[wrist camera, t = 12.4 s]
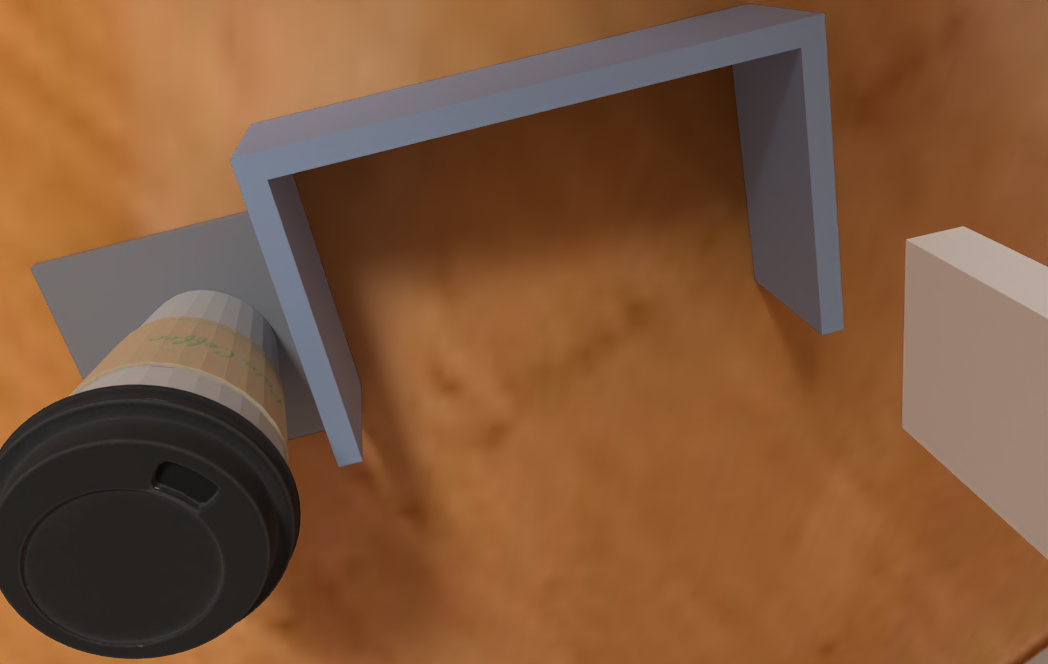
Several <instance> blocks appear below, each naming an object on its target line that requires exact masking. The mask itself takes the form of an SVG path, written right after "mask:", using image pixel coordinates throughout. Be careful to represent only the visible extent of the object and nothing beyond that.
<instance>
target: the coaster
mask: <svg viewBox="0 0 1048 664" xmlns="http://www.w3.org/2000/svg"><path fill="white" fill-rule="evenodd" d="M31 271H32V273H33V275H34V277H35V279H36V281H37V283H38V286H39V288H40V290H41V292H42V294H43V296H44V298H45V300H46V302H47V305H48V307H49V309H50V311H51V313H52V315H53V317H54V319H55V321H56V323H57V326H58V328H59V330H60V332H61V334H62V336H63V338H64V340H65V342H66V345H67V347H68V349H69V351H70V353H71V355H72V357H73V359H74V361H75V363H76V366H77V368H78V370H79V372H80V374H81V376H82V378H83V380H84V379H85V378H86V377H87V376H88V375H89V374H90V373H91V372H92V371H93V370H94V369H95V368H96V367H97V366H98V365H99V364H100V363H101V362H102V360H103V359H104V358H105V357H106V356H107V355H108V354H109V353H110V352H111V351H112V350H113V349H114V348H115V347H116V346H117V345H118V344H119V343H120V342H121V341H122V340H123V339H124V338H126V337H127V336H128V335H129V334H130V333H131V332H133V331H135V330H137V329H138V328H139V327H140V326H141V325H142V324H143V323H144V322H145V321H146V320H147V319H148V318H149V317H150V316H151V315H152V314H153V313H154V312H155V311H156V310H157V309H158V308H159V307H160V306H161V305H162V304H164V303H165V302H166V301H168V300H169V299H171V298H173V297H174V296H176V295H179V294H182V293H185V292H188V291H195V290H210V291H217V292H221V293H225V294H228V295H231V296H233V297H235V298H238V299H240V300H242V301H244V302H245V303H247V304H248V305H250V306H251V307H253V308H254V309H255V310H256V311H257V312H259V313H260V314H261V315H262V316H263V317H264V318H265V320H266V321H267V322H268V324H269V325H270V326H271V328H272V331H273V333H274V335H275V337H276V343H277V349H278V362H279V375H280V377H281V379H282V383H283V389H284V395H285V410H286V425H287V440H291V439H294V438H298V437H302V436H305V435H309V434H313V433H316V432H320V431H324V430H325V428H324V425H323V422H322V419H321V417H320V414H319V411H318V408H317V405H316V402H315V400H314V397H313V394H312V391H311V388H310V385H309V383H308V380H307V377H306V374H305V371H304V368H303V366H302V363H301V360H300V357H299V354H298V352H297V349H296V346H295V343H294V340H293V337H292V335H291V332H290V329H289V326H288V323H287V320H286V318H285V315H284V312H283V309H282V306H281V303H280V301H279V298H278V295H277V292H276V289H275V286H274V284H273V281H272V278H271V275H270V272H269V270H268V267H267V264H266V261H265V258H264V255H263V253H262V250H261V247H260V244H259V241H258V238H257V236H256V233H255V230H254V227H253V224H252V221H251V219H250V216H249V213H248V211H245V212H241V213H237V214H233V215H229V216H225V217H221V218H217V219H213V220H209V221H205V222H201V223H197V224H193V225H189V226H185V227H181V228H177V229H173V230H169V231H165V232H161V233H157V234H153V235H149V236H145V237H141V238H137V239H133V240H129V241H125V242H121V243H117V244H113V245H109V246H105V247H101V248H97V249H93V250H89V251H85V252H81V253H77V254H73V255H69V256H65V257H61V258H57V259H53V260H49V261H45V262H41V263H37V264H35V265H34V266H33V267H32V268H31Z"/></svg>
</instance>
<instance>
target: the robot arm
mask: <svg viewBox="0 0 1048 664" xmlns="http://www.w3.org/2000/svg"><path fill="white" fill-rule="evenodd" d="M902 428H903V429H904V430H905V431H906V432H907V433H909V434H910V435H911V436H912V437H913V438H914V439H915V440H916V441H917V442H919V443H920V444H921V445H922V446H923V447H924V448H925V449H926V450H927V451H928V452H930V453H931V454H932V455H933V456H934V457H935V458H936V459H937V460H938V461H940V462H941V463H942V464H943V465H944V466H945V467H946V468H947V469H948V470H949V471H951V472H952V473H953V474H954V475H955V476H956V477H957V478H958V479H959V480H961V481H962V482H963V483H964V484H965V485H966V486H967V487H968V488H969V489H970V490H972V491H973V492H974V493H975V494H976V495H977V496H978V497H979V498H980V499H982V500H983V501H984V502H985V503H986V504H987V505H988V506H989V507H990V508H991V509H993V510H994V511H995V512H996V513H997V514H998V515H999V516H1000V517H1001V518H1003V519H1004V520H1005V521H1006V522H1007V523H1008V524H1009V525H1010V526H1011V527H1012V528H1014V529H1015V530H1016V531H1017V532H1018V533H1019V534H1020V535H1021V536H1022V537H1023V538H1025V539H1026V540H1027V541H1028V542H1029V543H1030V544H1031V545H1032V546H1033V547H1035V548H1036V549H1037V550H1038V551H1039V552H1040V553H1041V554H1042V555H1043V556H1044V557H1046V558H1047V559H1048V267H1047V266H1045V265H1043V264H1041V263H1039V262H1037V261H1035V260H1033V259H1030V258H1028V257H1026V256H1024V255H1022V254H1020V253H1018V252H1016V251H1014V250H1012V249H1010V248H1008V247H1006V246H1004V245H1002V244H999V243H997V242H995V241H993V240H991V239H989V238H987V237H985V236H983V235H981V234H979V233H977V232H975V231H973V230H971V229H968V228H966V227H964V226H962V227H958V228H953V229H949V230H945V231H940V232H936V233H932V234H927V235H923V236H919V237H914V238H910V239H906V256H905V304H904V352H903V401H902Z"/></svg>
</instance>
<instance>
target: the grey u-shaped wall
mask: <svg viewBox="0 0 1048 664" xmlns="http://www.w3.org/2000/svg"><path fill="white" fill-rule="evenodd" d="M729 65H732V67H733V77H734V86H735V96H736V105H737V115H738V124H739V134H740V143H741V153H742V162H743V171H744V181H745V190H746V200H747V209H748V219H749V228H750V238H751V247H752V257H753V266H754V276H755V281H756V282H757V283H759V284H760V285H761V286H762V287H764V288H765V289H766V290H767V291H768V292H770V293H771V294H772V295H773V296H775V297H776V298H777V299H778V300H780V301H781V302H782V303H783V304H784V305H786V306H787V307H788V308H789V309H791V310H792V311H793V312H794V313H795V314H797V315H798V316H799V317H800V318H802V319H803V320H804V321H805V322H806V323H808V324H809V325H810V326H811V327H813V328H814V329H815V330H816V331H817V332H819V333H820V334H821V335H825V334H829V333H832V332H836V331H840V330H843V329H844V318H843V302H842V286H841V269H840V253H839V237H838V220H837V204H836V187H835V171H834V155H833V138H832V122H831V106H830V89H829V73H828V57H827V40H826V24H825V13H818V12H810V11H802V10H794V9H786V8H779V7H771V6H763V5H755V4H744V5H740V6H736V7H732V8H728V9H724V10H720V11H716V12H711V13H707V14H703V15H699V16H695V17H691V18H687V19H683V20H678V21H674V22H670V23H666V24H662V25H658V26H654V27H650V28H646V29H641V30H637V31H633V32H629V33H625V34H621V35H617V36H613V37H608V38H604V39H600V40H596V41H592V42H588V43H584V44H580V45H575V46H571V47H567V48H563V49H559V50H555V51H551V52H547V53H542V54H538V55H534V56H530V57H526V58H522V59H518V60H514V61H510V62H505V63H501V64H497V65H493V66H489V67H485V68H481V69H477V70H472V71H468V72H464V73H460V74H456V75H452V76H448V77H444V78H439V79H435V80H431V81H427V82H423V83H419V84H415V85H411V86H406V87H402V88H398V89H394V90H390V91H386V92H382V93H378V94H374V95H369V96H365V97H361V98H357V99H353V100H349V101H345V102H341V103H336V104H332V105H328V106H324V107H320V108H316V109H312V110H308V111H303V112H299V113H295V114H291V115H287V116H283V117H279V118H275V119H271V120H266V121H262V122H258V123H254V124H251V125H250V127H249V128H248V130H247V132H246V133H245V135H244V136H243V138H242V140H241V141H240V143H239V145H238V146H237V148H236V150H235V151H234V153H233V154H232V156H231V158H230V162H231V165H232V168H233V171H234V173H235V176H236V179H237V182H238V185H239V187H240V190H241V193H242V196H243V199H244V202H245V204H246V207H247V210H248V213H249V216H250V219H251V221H252V224H253V227H254V230H255V233H256V236H257V238H258V241H259V244H260V247H261V250H262V253H263V255H264V258H265V261H266V264H267V267H268V270H269V272H270V275H271V278H272V281H273V284H274V286H275V289H276V292H277V295H278V298H279V301H280V303H281V306H282V309H283V312H284V315H285V318H286V320H287V323H288V326H289V329H290V332H291V335H292V337H293V340H294V343H295V346H296V349H297V352H298V354H299V357H300V360H301V363H302V366H303V368H304V371H305V374H306V377H307V380H308V383H309V385H310V388H311V391H312V394H313V397H314V400H315V402H316V405H317V408H318V411H319V414H320V417H321V419H322V422H323V425H324V428H325V431H326V434H327V436H328V439H329V442H330V445H331V448H332V450H333V453H334V456H335V459H336V462H337V465H338V467H343V466H346V465H350V464H354V463H357V462H361V461H363V459H362V391H361V383H360V380H359V377H358V374H357V370H356V367H355V364H354V361H353V358H352V355H351V352H350V349H349V346H348V343H347V340H346V337H345V334H344V331H343V327H342V324H341V321H340V318H339V315H338V312H337V309H336V306H335V303H334V300H333V297H332V294H331V291H330V288H329V284H328V281H327V278H326V275H325V272H324V269H323V266H322V263H321V260H320V257H319V254H318V251H317V248H316V244H315V241H314V238H313V235H312V232H311V229H310V226H309V223H308V220H307V217H306V214H305V211H304V208H303V205H302V201H301V198H300V195H299V192H298V189H297V186H296V183H295V180H294V177H293V173H297V172H301V171H305V170H309V169H313V168H317V167H321V166H325V165H329V164H333V163H338V162H342V161H346V160H350V159H354V158H358V157H362V156H366V155H370V154H374V153H378V152H382V151H386V150H390V149H394V148H398V147H402V146H406V145H410V144H414V143H418V142H422V141H426V140H430V139H434V138H438V137H442V136H447V135H451V134H455V133H459V132H463V131H467V130H471V129H475V128H479V127H483V126H487V125H491V124H495V123H499V122H503V121H507V120H511V119H515V118H519V117H523V116H527V115H531V114H535V113H539V112H543V111H547V110H551V109H556V108H560V107H564V106H568V105H572V104H576V103H580V102H584V101H588V100H592V99H596V98H600V97H604V96H608V95H612V94H616V93H620V92H624V91H628V90H632V89H636V88H640V87H644V86H648V85H652V84H656V83H660V82H665V81H669V80H673V79H677V78H681V77H685V76H689V75H693V74H697V73H701V72H705V71H709V70H713V69H717V68H721V67H725V66H729Z"/></svg>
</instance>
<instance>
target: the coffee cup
mask: <svg viewBox="0 0 1048 664" xmlns="http://www.w3.org/2000/svg"><path fill="white" fill-rule="evenodd" d="M288 464H289V455H288V440H287V425H286V410H285V395H284V389H283V383H282V379H281V377H280V375H279V362H278V349H277V343H276V337H275V335H274V333H273V331H272V328H271V326H270V325H269V324H268V322H267V321H266V320H265V318H264V317H263V316H262V315H261V314H260V313H259V312H257V311H256V310H255V309H254V308H253V307H251V306H250V305H248V304H247V303H245V302H244V301H242V300H240V299H238V298H235V297H233V296H231V295H228V294H225V293H221V292H217V291H210V290H195V291H188V292H185V293H182V294H179V295H176V296H174V297H173V298H171V299H169V300H168V301H166V302H165V303H164V304H162V305H161V306H160V307H159V308H158V309H157V310H156V311H155V312H154V313H153V314H152V315H151V316H150V317H149V318H148V319H147V320H146V321H145V322H144V323H143V324H142V325H141V326H140V327H139V328H138V329H137V330H135V331H133V332H131V333H130V334H129V335H128V336H127V337H126V338H124V339H123V340H122V341H121V342H120V343H119V344H118V345H117V346H116V347H115V348H114V349H113V350H112V351H111V352H110V353H109V354H108V355H107V356H106V357H105V358H104V359H103V360H102V362H101V363H100V364H99V365H98V366H97V367H96V368H95V369H94V370H93V371H92V372H91V373H90V374H89V375H88V376H87V377H86V378H85V379H84V380H83V381H82V382H81V383H80V384H79V386H78V387H77V388H76V389H75V390H74V391H73V392H72V393H71V394H70V395H69V396H68V397H66V398H64V399H61V400H59V401H57V402H55V403H53V404H51V405H49V406H47V407H45V408H44V409H42V410H41V411H39V412H38V413H36V414H34V415H33V416H32V417H30V418H29V419H28V420H27V421H25V422H24V423H23V424H22V425H21V426H20V427H19V428H18V429H17V430H16V431H15V432H14V433H13V434H12V435H11V436H10V437H9V438H8V440H7V441H6V442H5V443H4V445H3V446H2V448H1V449H0V590H1V591H2V593H3V595H4V596H5V598H6V599H7V601H8V602H9V603H10V605H11V606H12V607H13V608H14V609H15V610H16V612H17V613H18V614H19V615H20V616H21V617H22V618H24V619H25V620H26V621H27V622H28V623H29V624H30V625H32V626H33V627H34V628H36V629H37V630H39V631H40V632H42V633H43V634H45V635H46V636H48V637H50V638H52V639H54V640H56V641H57V642H60V643H62V644H64V645H66V646H69V647H72V648H74V649H77V650H80V651H84V652H87V653H91V654H95V655H100V656H106V657H113V658H125V659H142V658H154V657H162V656H167V655H172V654H176V653H180V652H184V651H187V650H190V649H193V648H195V647H198V646H200V645H202V644H205V643H207V642H209V641H211V640H213V639H214V638H216V637H218V636H219V635H221V634H222V633H224V632H225V631H227V630H228V629H229V628H231V627H232V626H233V625H234V624H235V623H237V622H239V621H240V620H242V619H243V618H245V617H246V616H247V615H249V614H250V613H251V612H253V611H254V610H255V609H256V608H257V607H258V606H259V605H260V604H261V603H262V602H263V601H264V600H265V599H266V598H267V597H268V596H269V595H270V594H271V592H272V591H273V590H274V588H275V587H276V586H277V584H278V583H279V581H280V579H281V578H282V576H283V574H284V572H285V570H286V568H287V565H288V563H289V560H290V558H291V556H292V554H293V551H294V549H295V546H296V543H297V539H298V535H299V528H300V501H299V496H298V491H297V487H296V484H295V481H294V478H293V476H292V473H291V471H290V469H289V467H288Z"/></svg>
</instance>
